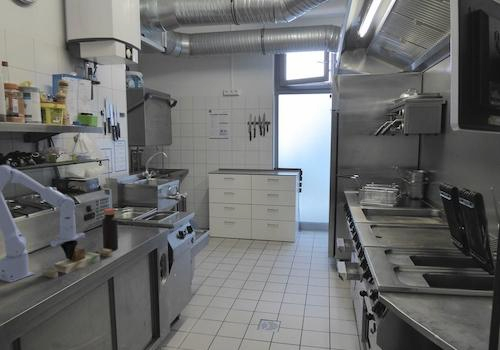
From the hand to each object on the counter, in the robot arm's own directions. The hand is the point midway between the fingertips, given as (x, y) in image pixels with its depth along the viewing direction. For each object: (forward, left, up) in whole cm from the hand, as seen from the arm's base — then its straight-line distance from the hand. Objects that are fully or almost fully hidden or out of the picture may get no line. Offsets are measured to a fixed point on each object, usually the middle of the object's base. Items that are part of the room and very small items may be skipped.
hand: (69, 258), depth 148 cm
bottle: (+26, +5, -5) cm, 27 cm away
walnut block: (+4, 0, -1) cm, 4 cm away
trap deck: (+5, 0, -4) cm, 7 cm away
